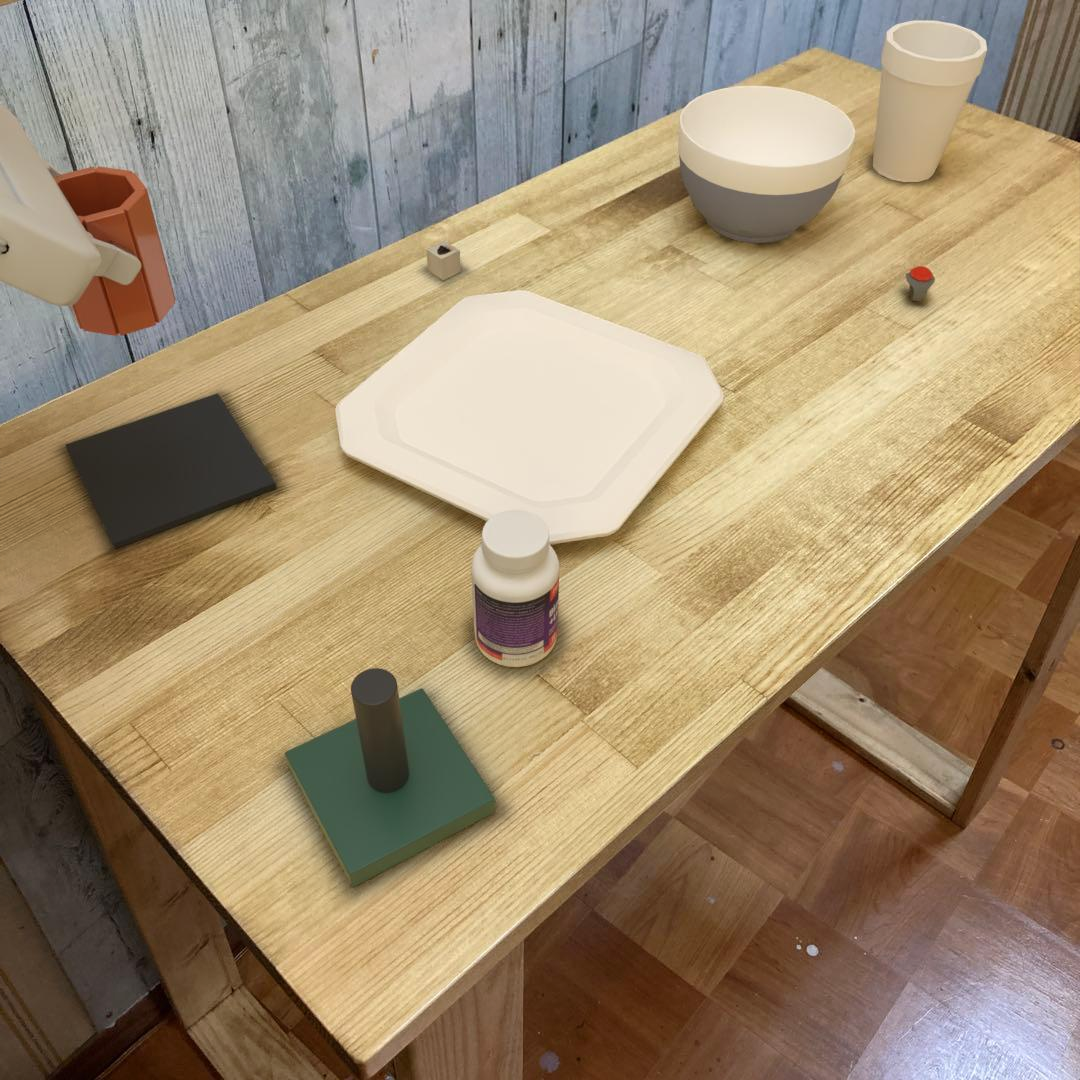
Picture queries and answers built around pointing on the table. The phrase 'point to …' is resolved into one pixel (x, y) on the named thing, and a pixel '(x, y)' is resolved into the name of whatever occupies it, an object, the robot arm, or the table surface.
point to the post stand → (388, 779)
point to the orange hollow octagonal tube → (126, 218)
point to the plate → (531, 413)
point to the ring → (919, 282)
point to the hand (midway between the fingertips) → (113, 239)
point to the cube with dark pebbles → (443, 260)
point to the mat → (168, 469)
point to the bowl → (762, 159)
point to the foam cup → (922, 94)
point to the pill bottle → (515, 590)
